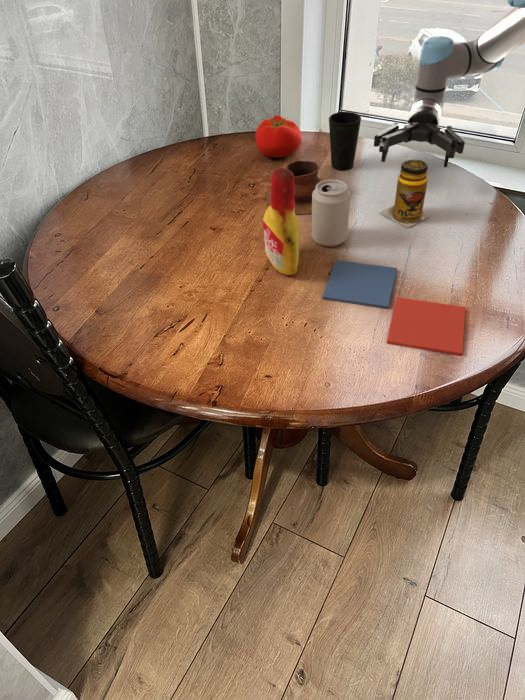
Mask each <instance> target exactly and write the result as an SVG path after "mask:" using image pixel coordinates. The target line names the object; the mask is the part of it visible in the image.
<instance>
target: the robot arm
mask: <svg viewBox="0 0 525 700" xmlns="http://www.w3.org/2000/svg"><path fill="white" fill-rule="evenodd" d="M505 1H506V2H507V4H508V5H509V6H510V7H511V8H512V7H514V8H512V9H511V10H510V11H509V12H507V13H506V14H505V15H504V16H503V17H501V18H500V19H499V20H498V21H496V22H495V23H494V24H493V25H492V26H490V27H489V28H488V29H487V30H486V31H484V32H483V33H482V34H480V35H479V36H478V37H477V38H475V39H473V40H471V41H465V42H461V43H455V42H454V40H453V39H452V38H450V37H448V36H442V35H441V36H435V35H434V36H429V37H427V38H425V39H424V40H423V41H422V44H421V47H420V51H419V57H418V66H417V67H418V68H417V75H416V83H415V86H414V94H413V100H412V101H413V102H412V105H411V110H410V113H409V116H408V120H407V122H406V124H405V125H400V124H399V123H400V122H398V121H395V122H393V123H392V125H390V126H388V127H387V128H385V129H383V130H382V131H379V132H378V133H376V134H375V135H374V139H373V147H376V148H378V152H379V153H381V160H380V162H381V163H385V162H386V159H387V156H388V154H389V149H390V147H393V146H396V145H398V144H402V143H405V144H407V143H409V142H419V143H428V144H430V145H431V146H433V145H435V146H437V147H438V148H439V149H441V150H443V151H444V152H445V155H444V161H443V168H448V165H449V159H455V156H456V153H457V154H463V153H464V149H465V145H466V141H465V140H464V139H463V138H461V136H460V135H458V134H457V133H456V132H455V131H454V130H453V126H452V125H447V126H446V127H445V128H441V127H439V126H440V121H441V117H442V111H443V107H444V103H445V94H446V89H447V85H448V80H451V79H456V78H462V77H466V76H467V77H468V76H472V75H473V76H474V75H479V74H487V73H490V72H491V71H495V70H497V69H499V68H500V67H501V66H502V64H503V62H504V61H505V59H506V56H507V55H510V53H512V52H514V51H515V50H517V49H519V47H521V46H522V45H524V44H525V0H505Z"/></svg>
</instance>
